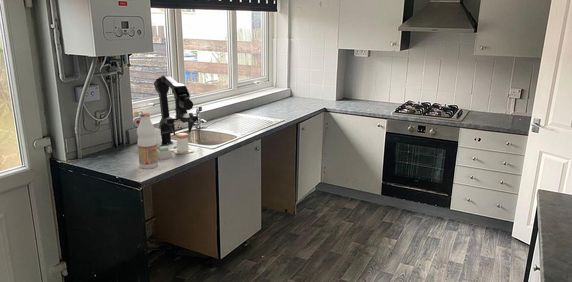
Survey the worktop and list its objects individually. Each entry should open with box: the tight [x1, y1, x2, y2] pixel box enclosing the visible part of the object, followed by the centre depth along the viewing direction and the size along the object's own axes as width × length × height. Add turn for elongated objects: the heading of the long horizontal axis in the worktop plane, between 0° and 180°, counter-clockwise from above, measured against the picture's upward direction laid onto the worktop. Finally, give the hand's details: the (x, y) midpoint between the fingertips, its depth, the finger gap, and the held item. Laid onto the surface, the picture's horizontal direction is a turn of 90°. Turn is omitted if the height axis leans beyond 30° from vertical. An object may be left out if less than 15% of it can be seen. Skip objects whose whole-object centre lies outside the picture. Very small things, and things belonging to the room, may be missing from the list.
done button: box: [157, 145, 170, 152], centre depth 240 cm, size 4×4×2 cm
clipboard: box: [169, 145, 195, 156], centre depth 252 cm, size 12×10×2 cm
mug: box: [155, 127, 162, 148], centre depth 259 cm, size 12×8×10 cm
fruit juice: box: [136, 112, 159, 170], centre depth 221 cm, size 9×9×28 cm
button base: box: [157, 148, 173, 160], centre depth 240 cm, size 7×7×4 cm
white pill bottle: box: [175, 132, 190, 152], centre depth 249 cm, size 5×5×10 cm
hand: (182, 133), depth 247 cm, fingers open, 9 cm apart
